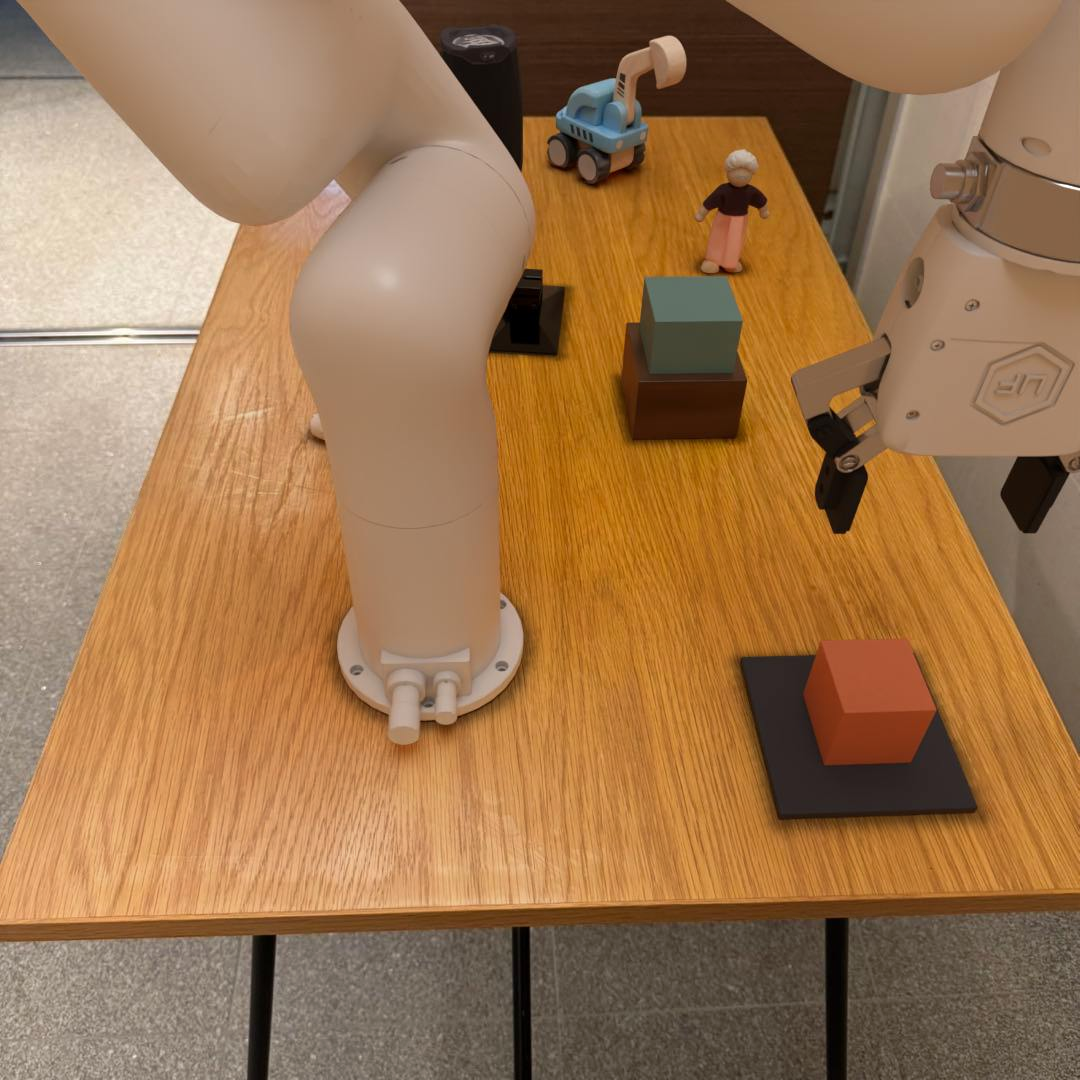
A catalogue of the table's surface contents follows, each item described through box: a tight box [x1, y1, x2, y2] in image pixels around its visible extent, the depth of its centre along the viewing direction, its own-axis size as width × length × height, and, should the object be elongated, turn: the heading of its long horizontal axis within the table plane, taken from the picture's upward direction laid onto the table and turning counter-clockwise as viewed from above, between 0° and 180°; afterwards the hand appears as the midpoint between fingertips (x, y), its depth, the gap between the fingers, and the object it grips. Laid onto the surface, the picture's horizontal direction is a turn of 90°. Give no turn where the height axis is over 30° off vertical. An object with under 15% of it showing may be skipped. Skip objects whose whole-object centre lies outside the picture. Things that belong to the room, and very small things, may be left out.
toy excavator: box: [546, 35, 687, 185], centre depth 117 cm, size 9×17×17 cm, turn 42°
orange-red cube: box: [803, 637, 937, 765], centre depth 62 cm, size 6×6×6 cm
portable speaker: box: [438, 23, 524, 174], centre depth 108 cm, size 9×9×20 cm
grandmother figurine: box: [694, 148, 771, 274], centre depth 103 cm, size 8×4×13 cm, turn 106°
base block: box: [620, 321, 748, 440], centre depth 87 cm, size 9×9×6 cm
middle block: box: [639, 275, 744, 374], centre depth 83 cm, size 7×7×5 cm
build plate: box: [489, 268, 566, 357], centre depth 97 cm, size 12×7×5 cm, turn 176°
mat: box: [739, 651, 979, 820], centre depth 64 cm, size 12×12×1 cm
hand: (925, 515), depth 51 cm, fingers open, 9 cm apart
